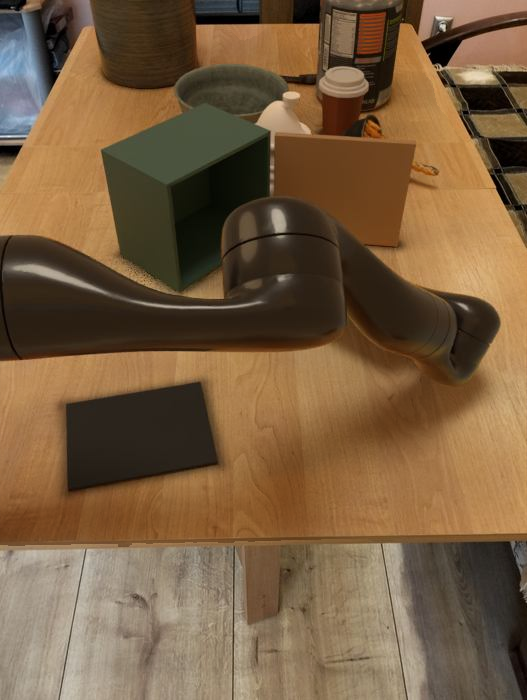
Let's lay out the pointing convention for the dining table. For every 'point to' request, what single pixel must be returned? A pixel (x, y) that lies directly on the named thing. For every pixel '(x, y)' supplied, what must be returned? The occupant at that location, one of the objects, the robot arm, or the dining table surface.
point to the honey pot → (281, 124)
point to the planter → (145, 40)
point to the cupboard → (184, 189)
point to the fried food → (372, 129)
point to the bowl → (231, 89)
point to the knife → (302, 78)
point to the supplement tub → (360, 43)
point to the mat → (137, 436)
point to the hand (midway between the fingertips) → (243, 228)
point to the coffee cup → (341, 99)
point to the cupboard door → (348, 180)
